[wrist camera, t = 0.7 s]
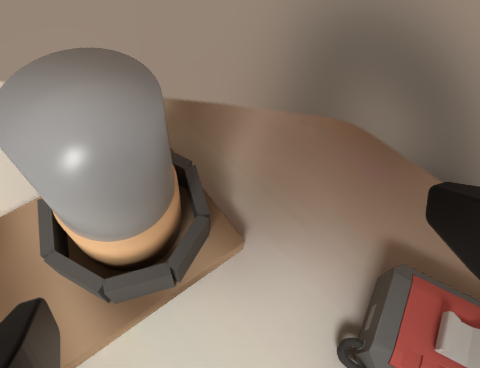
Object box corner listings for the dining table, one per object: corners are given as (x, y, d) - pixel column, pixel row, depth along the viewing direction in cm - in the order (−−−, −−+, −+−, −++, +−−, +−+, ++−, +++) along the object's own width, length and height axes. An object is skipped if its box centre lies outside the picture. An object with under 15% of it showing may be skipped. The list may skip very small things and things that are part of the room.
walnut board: (162, 147, 28) (160, 135, 27) (242, 249, 24) (244, 240, 23) (-258, 369, 19) (-292, 368, 18) (-229, 582, 15) (-270, 600, 14)
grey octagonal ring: (198, 312, 21) (197, 303, 18) (24, 294, 20) (2, 282, 18) (218, 168, 26) (219, 147, 23) (78, 152, 25) (66, 129, 23)
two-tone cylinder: (173, 279, 21) (147, 187, 12) (65, 268, 21) (-49, 165, 12) (190, 186, 25) (179, 55, 15) (95, 176, 24) (25, 36, 15)
